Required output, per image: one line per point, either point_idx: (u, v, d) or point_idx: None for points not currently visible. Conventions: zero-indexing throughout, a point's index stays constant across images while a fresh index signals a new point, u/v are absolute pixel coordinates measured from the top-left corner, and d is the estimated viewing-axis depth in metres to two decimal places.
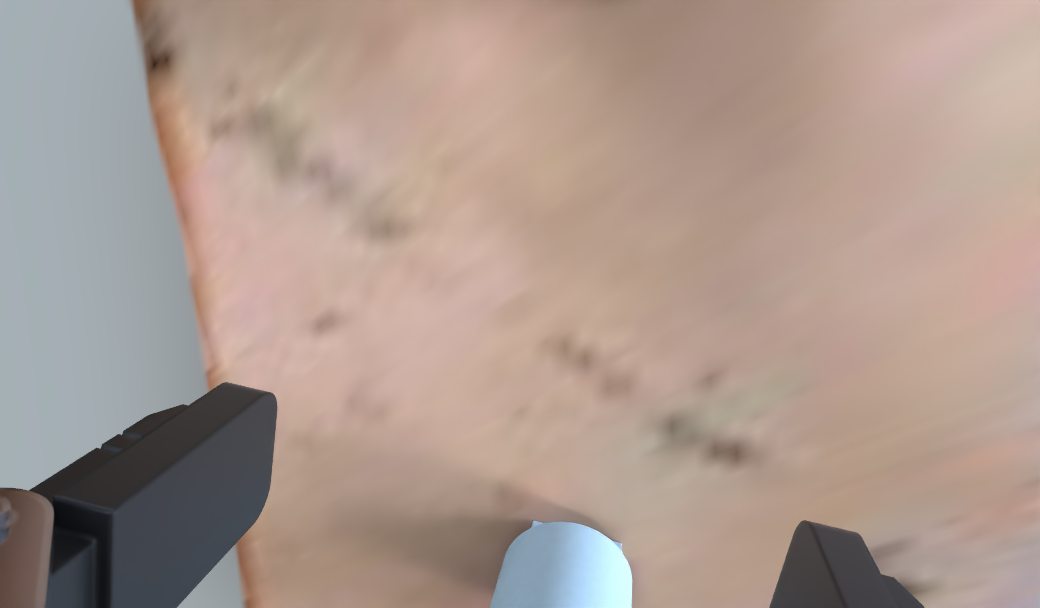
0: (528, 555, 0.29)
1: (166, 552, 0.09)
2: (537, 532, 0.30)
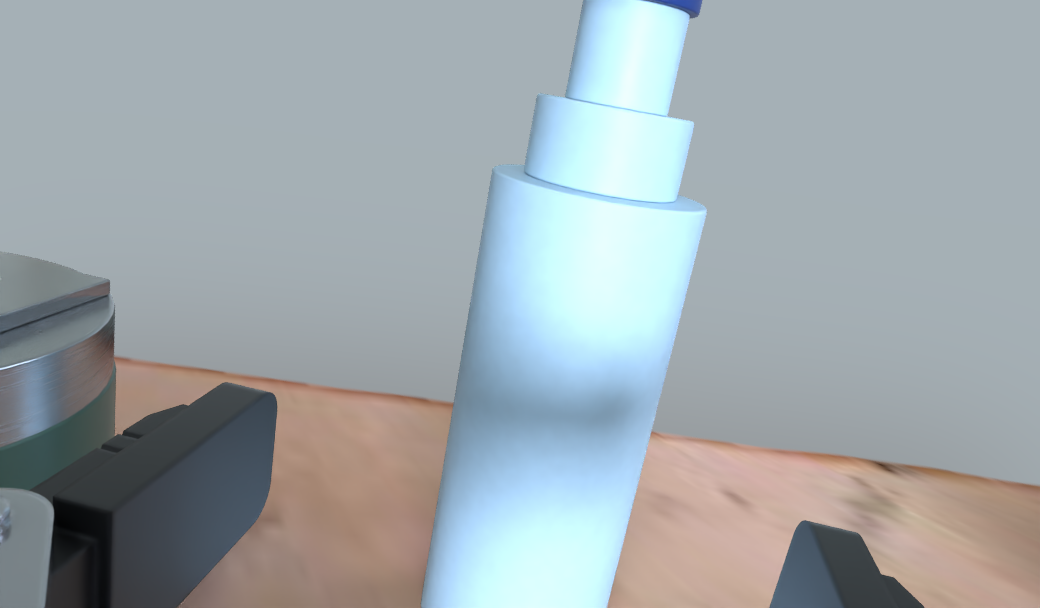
0: None
1: (167, 551, 0.09)
2: None
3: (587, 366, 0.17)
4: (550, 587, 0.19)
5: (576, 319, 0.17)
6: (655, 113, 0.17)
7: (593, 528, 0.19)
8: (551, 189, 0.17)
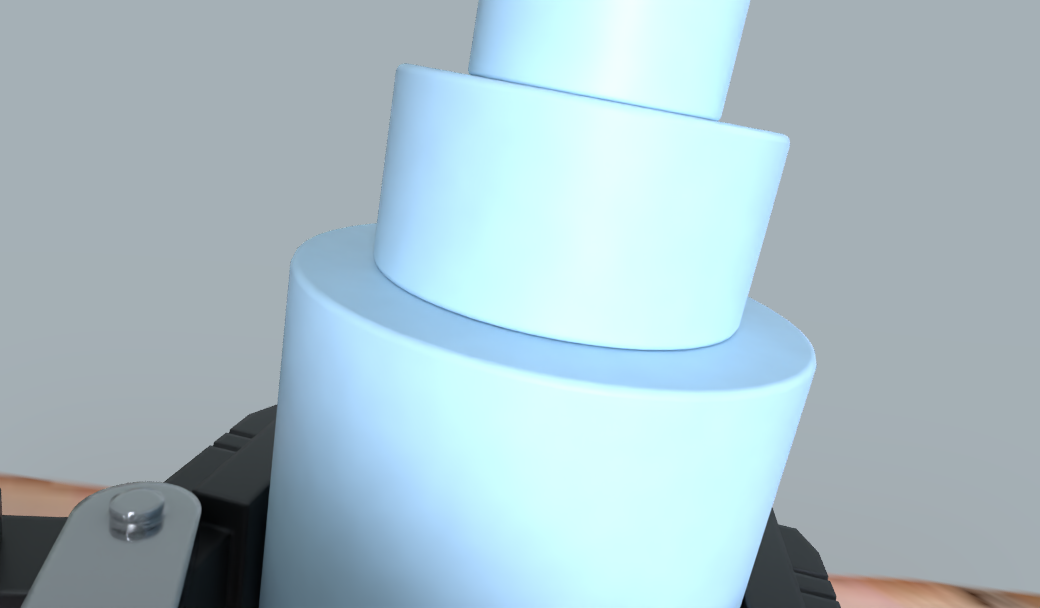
0: None
1: None
2: None
3: None
4: None
5: None
6: (694, 114, 0.07)
7: None
8: (399, 334, 0.06)
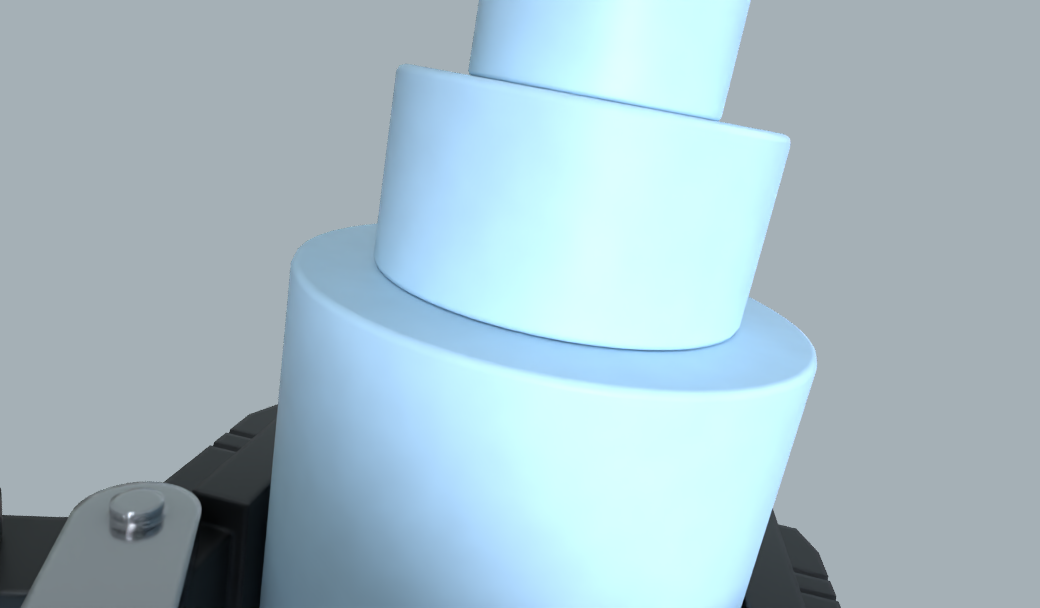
0: None
1: None
2: None
3: None
4: None
5: None
6: (695, 114, 0.07)
7: None
8: (400, 334, 0.06)
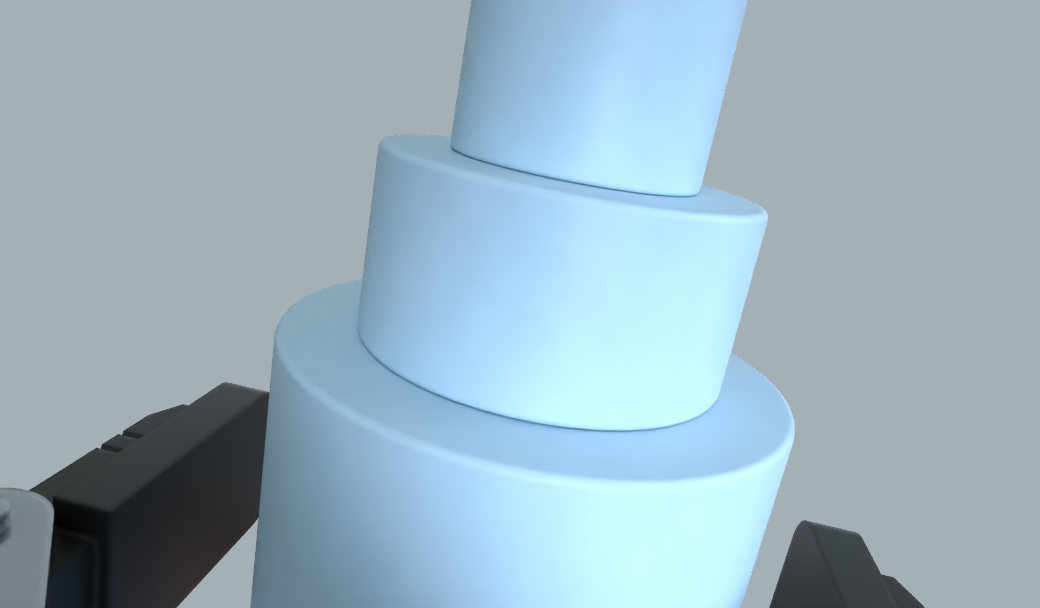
0: None
1: (166, 551, 0.09)
2: None
3: None
4: None
5: None
6: (672, 194, 0.07)
7: None
8: (377, 423, 0.06)
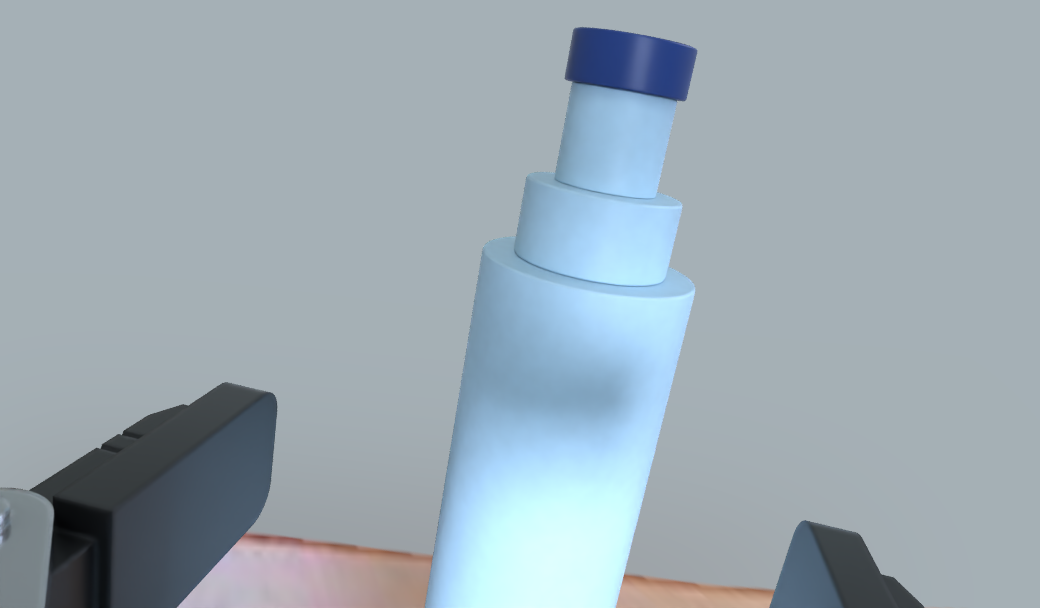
0: None
1: (166, 551, 0.09)
2: None
3: (577, 449, 0.18)
4: None
5: (567, 405, 0.17)
6: (643, 198, 0.18)
7: (585, 601, 0.19)
8: (541, 278, 0.17)
